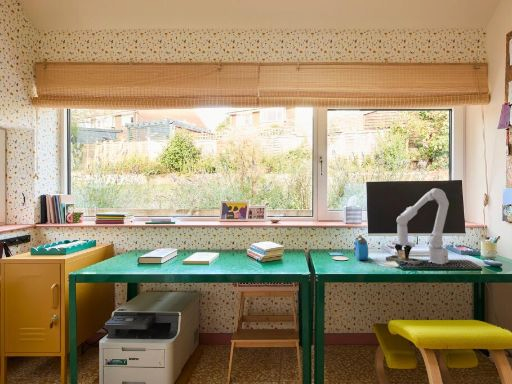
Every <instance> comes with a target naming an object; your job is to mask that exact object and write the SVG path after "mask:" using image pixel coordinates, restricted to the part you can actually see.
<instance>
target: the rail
mask: <svg viewBox="0 0 512 384" xmlns="http://www.w3.org/2000/svg"><path fill="white" fill-rule="evenodd" d="M396 260H399V261H404V262H408V263H412V264H418V263H421V262H423V263H424V260H423V259H420V258H413V257H409V259H406V260H403V259H399V255H394V254H392V255H389V256H385V261H388V262H392V261H396ZM411 260H413V261H411ZM418 265H419V264H418Z"/></svg>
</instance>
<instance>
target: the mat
mask: <svg viewBox="0 0 512 384" xmlns="http://www.w3.org/2000/svg"><path fill="white" fill-rule="evenodd" d="M383 265H385V266H390V267H396V268H397V267H400V266H399V265H398V264H397V263H396V262H395V261H388V262H385V263H383Z"/></svg>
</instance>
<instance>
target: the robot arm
mask: <svg viewBox="0 0 512 384" xmlns="http://www.w3.org/2000/svg"><path fill="white" fill-rule="evenodd" d="M430 201H435V202H436V203H437V204H438V208H437V212H436V216H435V221H434V225H433V228H432V229H433V230H432V232H431V235H430V236H429V237H428V243H429V245H428V251H429V252H428V253H429V260H427V261H428V262H427V263H431V262H432V264H437V265H444V264H447V263H449V262H450V261H449V251H448V249H447V248H444V247H443V243H444V242H443V230H444V227H445V224H446V219H447V214H448V209H449V205H450V203H449V200H448V198H447V195H446V192H445V191H444V190H442V188H441V189H440V188H437V187H435V188H434V187H433V188H432V189H430V190H429V191H427V192H426V193H425V194H424V195H423V196H422V197H421V198H420V199H419V200H418V201H417V202H416V203H415V204H414V205H412V206H411V205H410V206H409V207H406V209H405V210H404V211H403V212H402V213H400V215H399V216H397V218H396V220H395V221H396V224H397V227H396V229H397V230H396V231H397V240H392V241H391V245H394V246H393V247H394V248H395V250H396V252H397V256H399V250H405V257H406V258H410V257H409V256H410V253H411V250H412V248H415V247H416V244H415V243H414V242H409V237H408V236H409V235H408V222H409V221H410V220H411V219H413V217H415V216H416V215H417V214H418V211H419V209H421V207H422V206H424V205H425V204H426V203H427V202H430Z"/></svg>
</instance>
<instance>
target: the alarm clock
mask: <svg viewBox="0 0 512 384" xmlns="http://www.w3.org/2000/svg"><path fill="white" fill-rule="evenodd" d="M354 253H355V258H356V260H358V261H368V258H369V246H368V242H367V240H366V239H365V238H364V237H363V236H361V235H358V236H356V237H355V241H354Z"/></svg>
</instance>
